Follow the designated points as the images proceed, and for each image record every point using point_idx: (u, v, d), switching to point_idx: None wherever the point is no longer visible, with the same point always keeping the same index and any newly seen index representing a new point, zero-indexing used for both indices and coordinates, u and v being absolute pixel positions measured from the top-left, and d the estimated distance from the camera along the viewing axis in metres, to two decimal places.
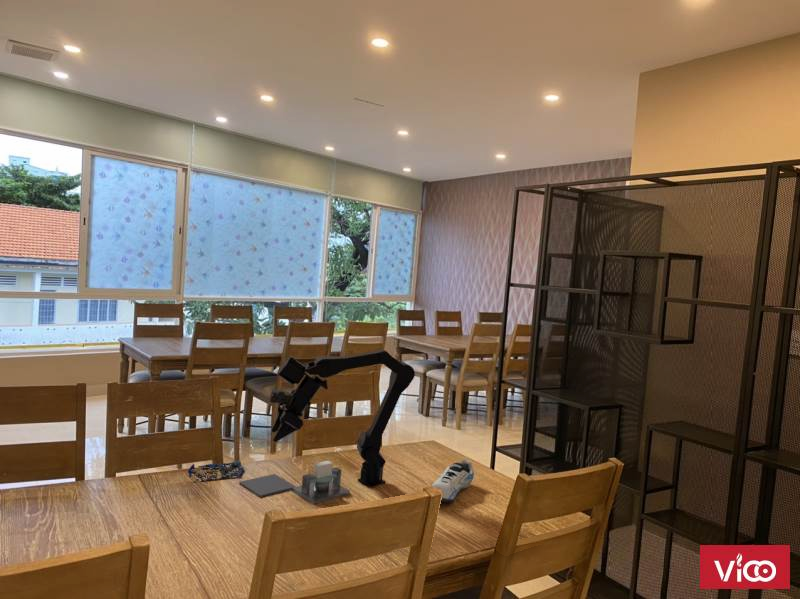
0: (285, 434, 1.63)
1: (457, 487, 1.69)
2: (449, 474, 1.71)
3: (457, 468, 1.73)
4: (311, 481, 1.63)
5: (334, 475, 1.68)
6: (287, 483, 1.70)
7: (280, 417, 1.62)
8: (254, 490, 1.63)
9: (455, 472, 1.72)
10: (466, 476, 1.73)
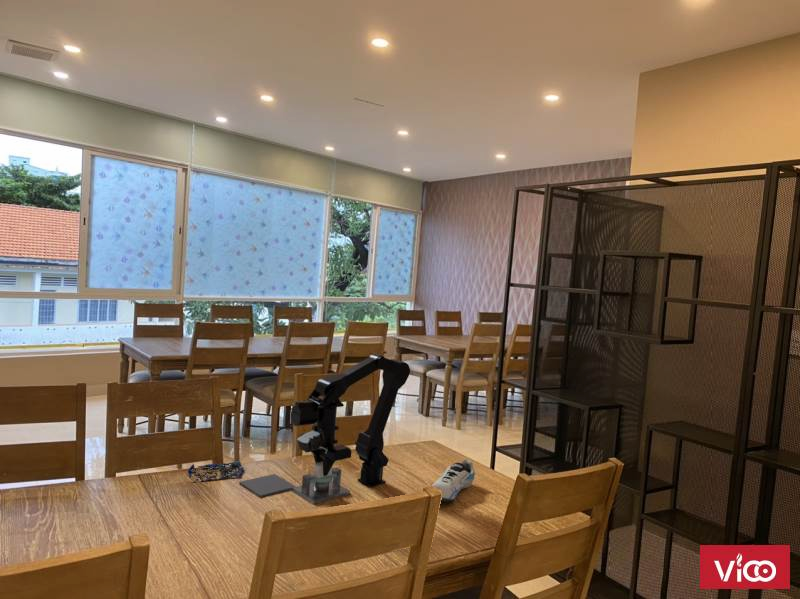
0: (331, 464, 1.65)
1: (458, 487, 1.69)
2: (450, 474, 1.71)
3: (458, 468, 1.73)
4: (311, 481, 1.63)
5: (334, 475, 1.68)
6: (287, 483, 1.70)
7: (321, 455, 1.61)
8: (254, 490, 1.63)
9: (456, 472, 1.72)
10: (467, 476, 1.73)
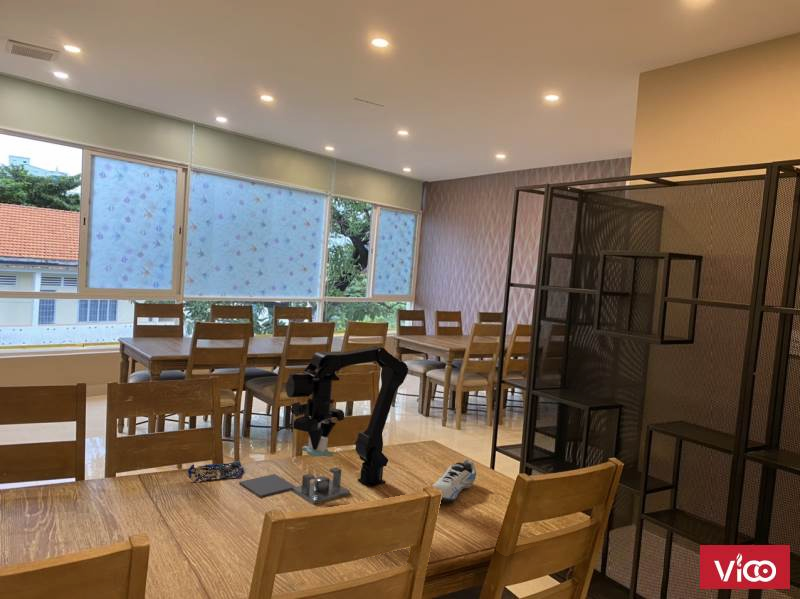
0: (316, 439, 1.63)
1: (459, 487, 1.69)
2: (451, 474, 1.71)
3: (459, 468, 1.74)
4: (303, 449, 1.67)
5: (327, 454, 1.63)
6: (287, 483, 1.70)
7: None
8: (254, 490, 1.63)
9: (457, 472, 1.72)
10: (468, 476, 1.74)
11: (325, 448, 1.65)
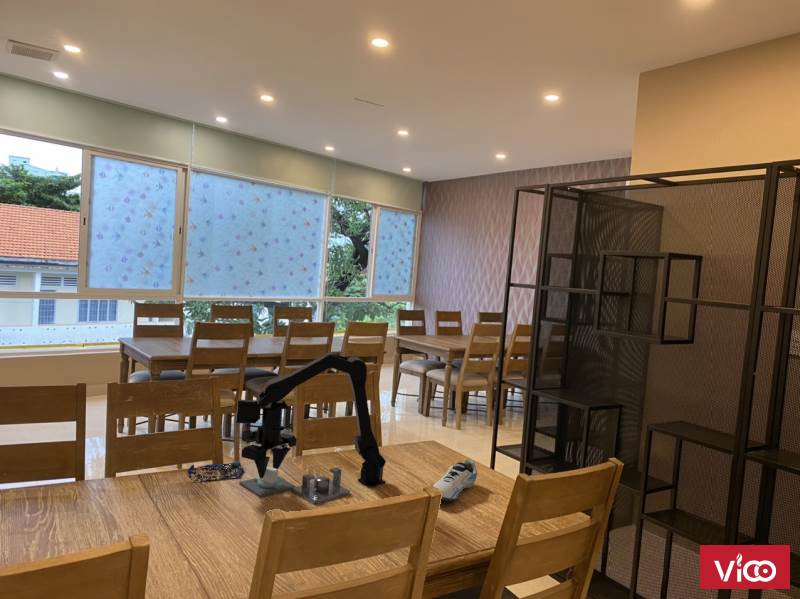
0: (262, 468, 1.63)
1: (460, 487, 1.69)
2: (452, 474, 1.71)
3: (460, 468, 1.74)
4: (255, 479, 1.69)
5: (276, 486, 1.65)
6: (287, 483, 1.70)
7: None
8: (254, 490, 1.63)
9: (458, 472, 1.72)
10: (469, 476, 1.74)
11: (275, 480, 1.67)
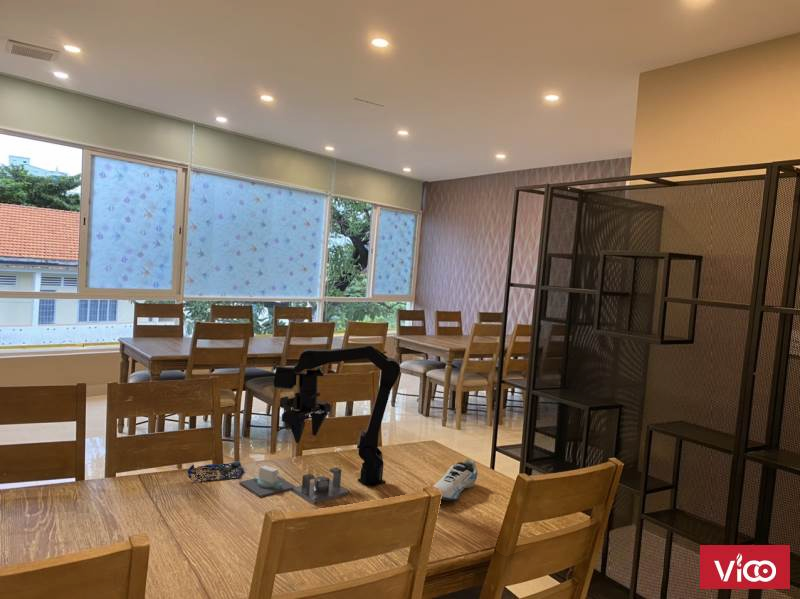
0: (298, 433, 1.69)
1: (460, 486, 1.69)
2: (452, 473, 1.72)
3: (460, 468, 1.74)
4: (255, 479, 1.69)
5: (276, 486, 1.65)
6: (287, 483, 1.70)
7: None
8: (254, 490, 1.63)
9: (458, 472, 1.73)
10: (469, 476, 1.74)
11: (275, 480, 1.67)
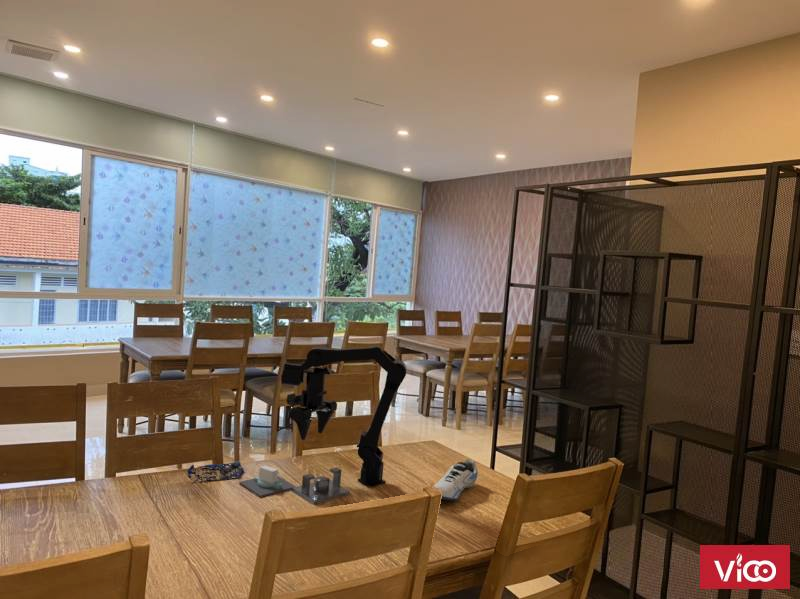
0: (304, 430, 1.71)
1: (461, 486, 1.69)
2: (453, 473, 1.72)
3: (461, 468, 1.74)
4: (255, 479, 1.69)
5: (276, 486, 1.65)
6: (287, 483, 1.70)
7: None
8: (254, 490, 1.63)
9: (459, 471, 1.73)
10: (470, 475, 1.74)
11: (275, 480, 1.67)
